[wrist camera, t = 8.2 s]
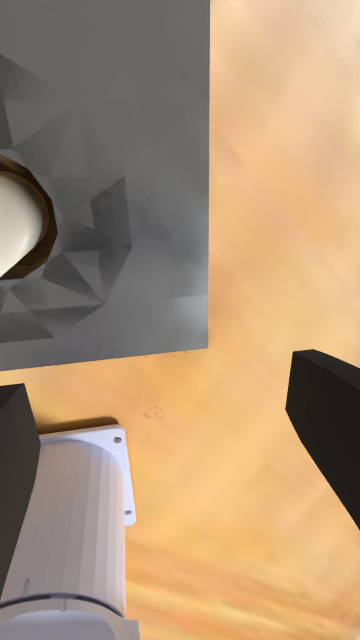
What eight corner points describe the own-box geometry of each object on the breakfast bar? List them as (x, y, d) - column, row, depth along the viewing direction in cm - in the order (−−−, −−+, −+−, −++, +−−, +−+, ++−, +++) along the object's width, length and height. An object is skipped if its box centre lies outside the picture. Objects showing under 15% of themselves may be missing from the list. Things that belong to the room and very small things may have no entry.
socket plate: (197, 328, 19) (207, 347, 17) (-142, 363, 17) (-180, 391, 15) (195, 26, 14) (209, -1, 11) (-323, 12, 11) (-429, -26, 9)
